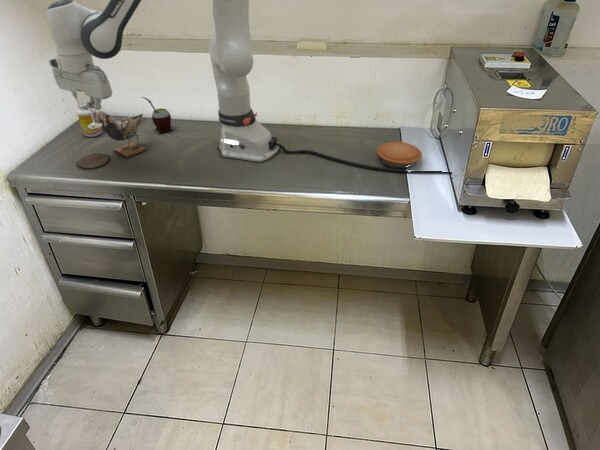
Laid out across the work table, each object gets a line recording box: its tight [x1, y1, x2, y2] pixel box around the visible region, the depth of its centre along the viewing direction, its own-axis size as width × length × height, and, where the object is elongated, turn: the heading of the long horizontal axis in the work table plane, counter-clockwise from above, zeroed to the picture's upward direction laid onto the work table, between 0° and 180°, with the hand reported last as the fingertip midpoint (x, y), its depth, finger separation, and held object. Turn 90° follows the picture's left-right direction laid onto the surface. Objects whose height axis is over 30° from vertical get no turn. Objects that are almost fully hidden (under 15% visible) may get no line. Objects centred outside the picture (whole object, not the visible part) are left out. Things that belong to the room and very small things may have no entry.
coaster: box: [77, 153, 109, 170], centre depth 153 cm, size 10×10×1 cm
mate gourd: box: [141, 96, 172, 135], centre depth 169 cm, size 8×8×15 cm
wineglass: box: [76, 90, 103, 128], centre depth 137 cm, size 6×6×12 cm
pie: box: [376, 141, 423, 170], centre depth 153 cm, size 15×16×5 cm
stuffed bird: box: [94, 110, 148, 158], centre depth 154 cm, size 10×20×17 cm, turn 161°
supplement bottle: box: [76, 102, 103, 138], centre depth 167 cm, size 7×7×13 cm
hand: (89, 107), depth 137 cm, fingers closed on wineglass, 5 cm apart
